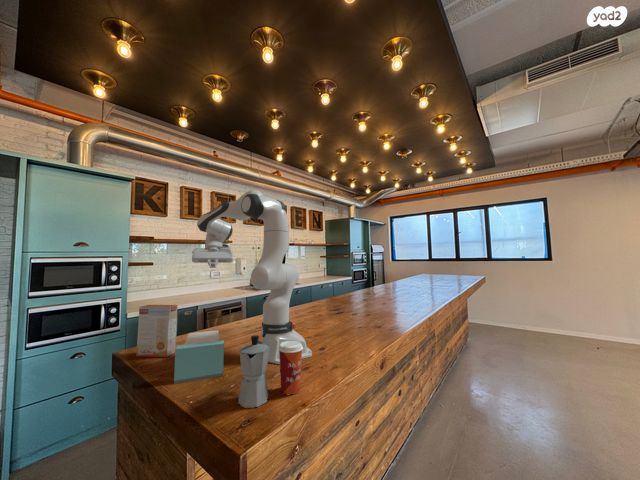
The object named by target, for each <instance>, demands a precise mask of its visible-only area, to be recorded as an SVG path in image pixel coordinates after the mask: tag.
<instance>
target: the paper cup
mask: <svg viewBox="0 0 640 480" xmlns="http://www.w3.org/2000/svg"><path fill="white" fill-rule="evenodd" d="M302 349H303V346H302V344H301V343H300V342H298V341H285V342H282V343H281V344H280V347H279V348H278V350H279V351H280V364H279V369H280V370H279V371H280V389H281V390H280V391H282V392H281V394H283V393H284V394H294V393H296V392H298V391H299V392H300V387H301V373H302V359H301V358H302ZM299 392H298V393H299ZM284 394H283V395H284Z"/></svg>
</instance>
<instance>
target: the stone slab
mask: <svg viewBox="0 0 640 480" xmlns="http://www.w3.org/2000/svg"><path fill="white" fill-rule="evenodd" d="M219 334H220V333H219V330H209V331H197V332H189V333H188V334H187V337H186V339H185V342H184V344H183V345H186V344H195V343H204V342H212V341H220V336H219Z"/></svg>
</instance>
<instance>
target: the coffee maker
mask: <svg viewBox="0 0 640 480" xmlns="http://www.w3.org/2000/svg"><path fill="white" fill-rule="evenodd" d="M250 339H251V343H250V344H246V345H244V346H243V347H240V348H239V358H240V359H239V360H240V370H241V373H242V378H241V383H240V388H239V395H238V402H237V405H238V404H240V405H241V406H243V407H247V408H250V407H252V408H251V409H255V408H254V407H258V406H260V405H262V404H264V403H266V402H267V403H268V400H267V399H269V392H268V383H267V378H266V377H267V376H266V372H267V370H268V363H269V362H268V357H269V350H270V348H269V347H268V346H267V345H264V344H262V340H261V341H259V339H260V336H259V335H258V334H256V335H251V336H250ZM267 403H266V404H267ZM264 405H265V404H264ZM241 406H240V407H241ZM262 406H263V405H262ZM260 407H261V406H260ZM258 408H259V407H258Z"/></svg>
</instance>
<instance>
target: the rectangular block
mask: <svg viewBox="0 0 640 480" xmlns="http://www.w3.org/2000/svg"><path fill="white" fill-rule="evenodd" d="M224 353H225V341H224V339H222V340H219V341H212V342H204V343H195V344H186V345H184V344H176V351H175V353H174V354H175V355H174V356H175V357H174V372H173V376H174V378H173V385H175V384H182V383H189V382H194V381H199V380H206V379H212V378H218V377H219V378H220V377H223V376H224V359H225V358H224V356H225V354H224Z"/></svg>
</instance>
